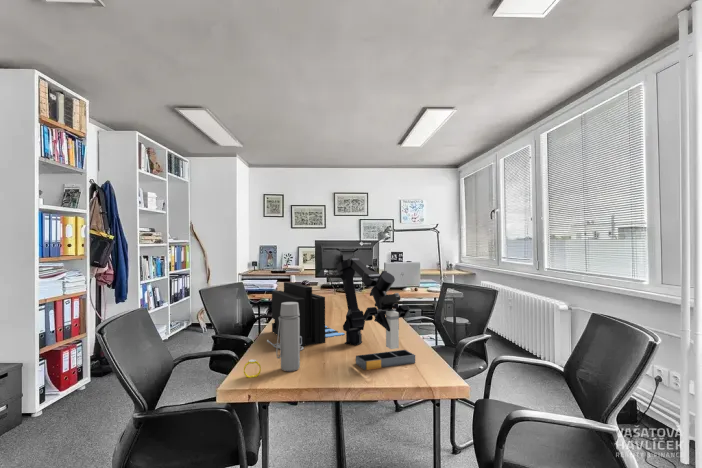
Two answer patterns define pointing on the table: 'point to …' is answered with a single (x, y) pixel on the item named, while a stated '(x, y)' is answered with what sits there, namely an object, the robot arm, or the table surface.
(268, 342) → the wall mount rack
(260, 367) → the yellow ring
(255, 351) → the table surface
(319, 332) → the game console
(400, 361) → the rack
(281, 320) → the water bottle
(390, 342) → the white capped pillar
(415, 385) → the table surface
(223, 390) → the table surface
